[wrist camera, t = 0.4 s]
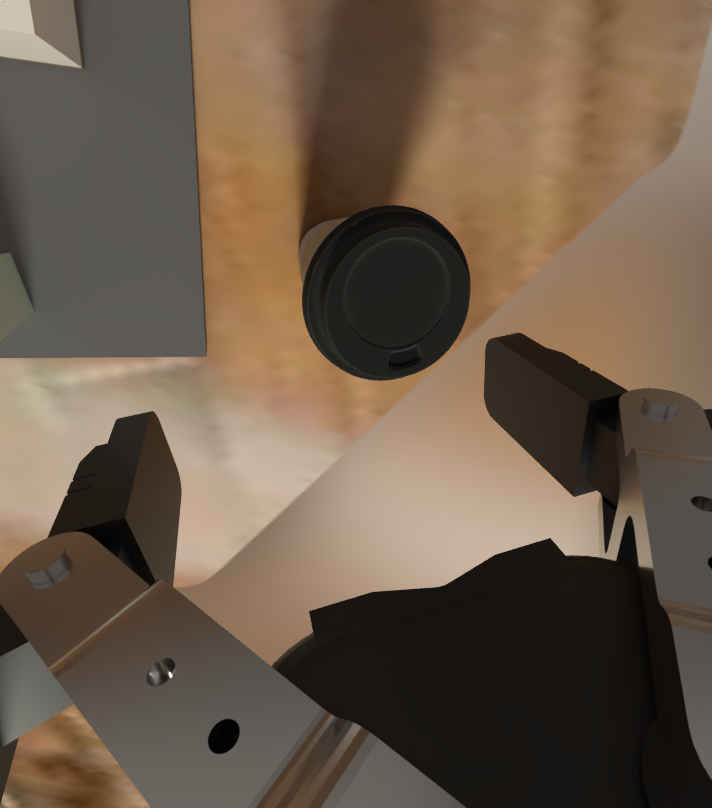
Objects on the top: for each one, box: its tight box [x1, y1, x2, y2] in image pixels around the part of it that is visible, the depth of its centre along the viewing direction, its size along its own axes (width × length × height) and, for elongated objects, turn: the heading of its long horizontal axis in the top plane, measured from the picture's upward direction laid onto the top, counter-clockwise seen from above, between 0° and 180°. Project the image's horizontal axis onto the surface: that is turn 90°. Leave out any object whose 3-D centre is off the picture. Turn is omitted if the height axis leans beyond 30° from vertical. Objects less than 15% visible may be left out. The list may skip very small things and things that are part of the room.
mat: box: [0, 0, 206, 358], centre depth 30 cm, size 24×16×1 cm, turn 175°
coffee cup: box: [299, 205, 470, 381], centre depth 30 cm, size 9×9×15 cm
